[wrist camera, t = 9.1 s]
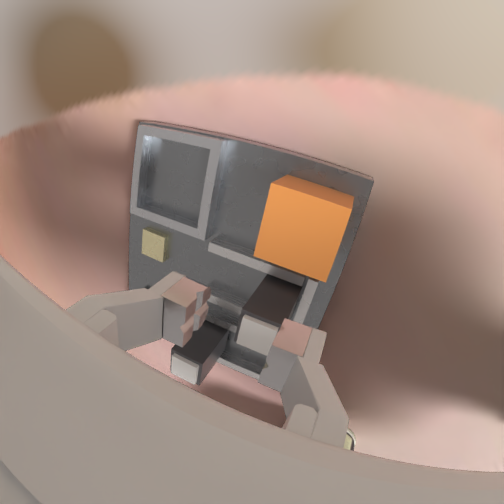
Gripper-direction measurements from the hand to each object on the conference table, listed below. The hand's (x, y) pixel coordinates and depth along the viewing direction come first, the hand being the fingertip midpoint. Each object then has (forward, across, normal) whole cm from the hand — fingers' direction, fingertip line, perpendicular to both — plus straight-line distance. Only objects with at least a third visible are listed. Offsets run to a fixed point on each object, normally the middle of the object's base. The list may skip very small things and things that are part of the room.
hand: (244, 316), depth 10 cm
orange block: (+13, 0, 0) cm, 13 cm away
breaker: (+13, +6, +14) cm, 20 cm away
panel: (+15, +6, +7) cm, 18 cm away
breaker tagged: (+13, 0, +7) cm, 15 cm away
